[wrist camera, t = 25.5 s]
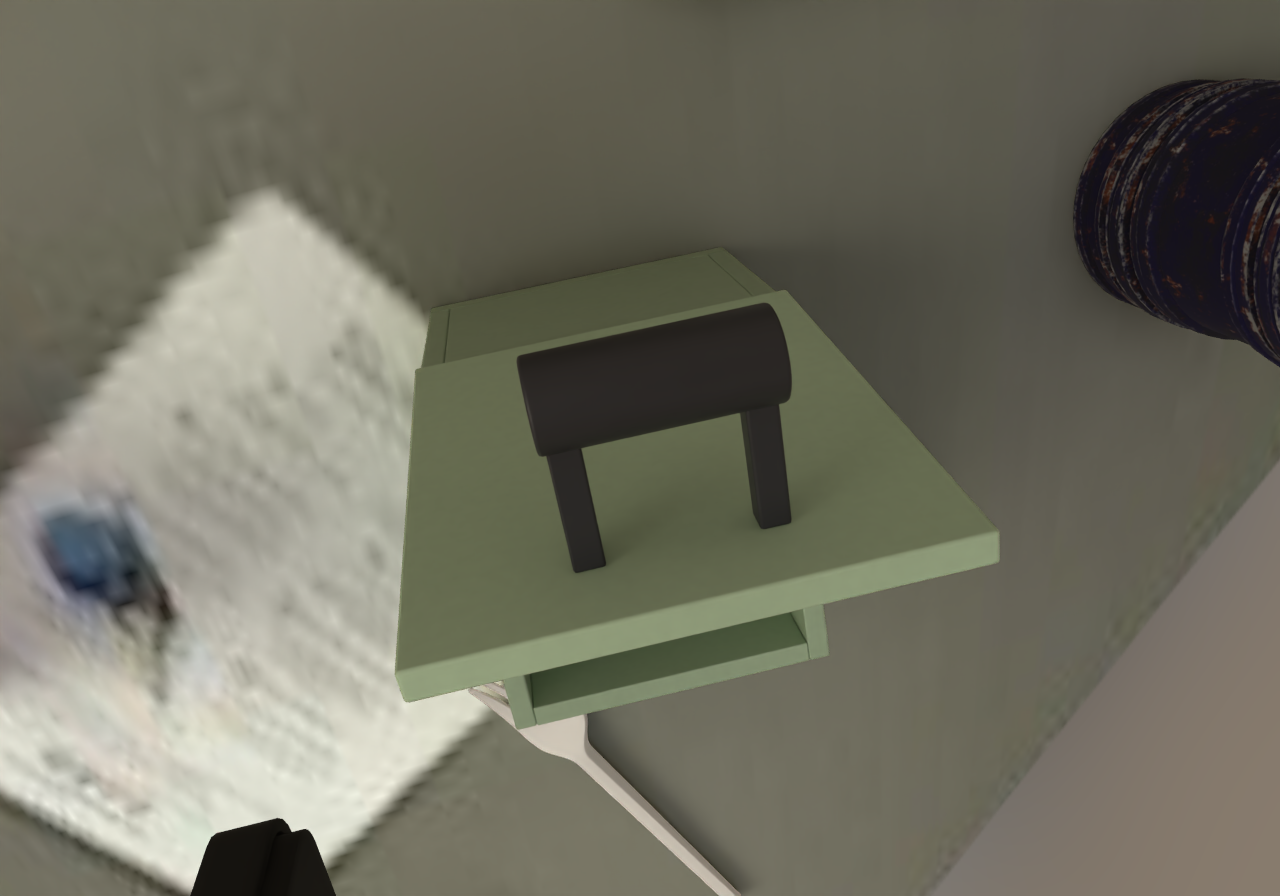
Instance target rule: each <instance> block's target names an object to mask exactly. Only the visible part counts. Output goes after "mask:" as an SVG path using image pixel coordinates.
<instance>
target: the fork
mask: <svg viewBox="0 0 1280 896" xmlns="http://www.w3.org/2000/svg"><path fill="white" fill-rule="evenodd" d="M483 686H485V687H487V688H489V689H491V690H493V691H495V692H496V693H498V694H500V695H502V696H503V697H505V698H506V699H508V697H507V694H506V690H505V687H504V686H501V685H499V684H496V683H494V682H493V683H489V684H485V685H483ZM468 691H469V693H470V694H472V695H473V696H475V697H476V698H478V699H479V700H480V701H482V702H483V703H484V704H486V705H487V706H488V707H490V708H491V709H492V710H494V711H495V712H496V713H498V714H499V715H500V716H501V717H503V718H504V719H505V720H506V721H507V722H508V723H509V724H511V725H512V726H513V727H514V728H515V729H516V727H515V723H514V719H513V716H512V712H511V708H510V705H509V704H507V703H505V702H503V701H502V700H500V699H498V698H496V697H494V696H492V695H490V694H487V693H484V692H482V691H479V690H476V689H473V688H470V689H469V690H468ZM587 729H588V719H587V714H584V715H579V716H575V717H571V718H567V719H563V720H559V721H554V722H550V723H546V724H542V725H538V724H537V725H535V726H532V727H528V728H524V729H520V730H517V729H516V730H517V731H518V732H519V733H521V734H522V735H523V736H524V737H525V738H526V739H527V740H529V741H530V742H531V743H532V744H533V745H535V746H536V747H538V748H539V749H541V750H543V751H545V752H547V753H550V754H553V755H557V756H561V757H564V758H567V759H569V760H572V761H574V762H575V763H576V764H578V765H579V766H580V767H581V768H582V769H583V770H584V771H585V772H586V773H587V774H589V775H590V776H591V777H592V778H593V779H594V780H595V781H596V782H597V783H598V784H599V785H600V786H601V787H603V788H604V789H605V790H606V791H607V792H608V793H609V794H610V795H611V796H612V797H613V798H614V799H615V800H617V801H618V802H619V803H620V804H621V805H622V806H623V807H624V808H625V809H626V810H627V811H628V812H629V813H631V814H632V815H633V816H634V817H635V818H636V819H637V820H638V821H639V822H640V823H641V824H642V825H644V826H645V827H646V828H647V829H648V830H649V831H650V832H651V833H652V834H653V835H654V836H655V837H656V838H658V839H659V840H660V841H661V842H662V843H663V844H664V845H665V846H666V847H667V848H668V849H669V850H670V851H672V852H673V853H674V854H675V855H676V856H677V857H678V858H679V859H680V860H681V861H682V862H683V863H684V864H686V865H687V866H688V867H689V868H690V869H691V870H692V871H693V872H694V873H695V874H696V875H697V876H698V877H700V878H701V879H702V880H703V881H704V882H705V883H706V884H707V885H708V886H709V887H710V888H711V889H713V890H714V891H715V892H716V893H717V894H718V895H719V896H741V894H740V893H739V892H738V891H737V890H736V889H735V888H734V887H733V886H732V885H731V884H730V883H729V882H728V881H727V880H726V879H725V878H724V877H723V876H722V875H721V874H720V873H719V872H718V871H717V870H716V869H715V868H714V867H713V866H712V865H711V864H710V863H709V862H708V861H707V860H706V859H705V858H704V857H703V856H702V855H701V854H700V853H699V852H698V851H697V850H696V849H695V848H694V847H693V846H692V845H691V844H690V843H689V842H688V841H687V840H686V839H685V838H683V837H682V836H681V835H680V834H679V833H678V832H677V831H676V830H675V829H674V828H673V827H672V826H671V825H670V824H669V823H668V822H667V821H666V820H665V819H664V818H663V817H662V816H661V815H660V814H659V813H658V812H657V811H656V810H655V809H654V808H653V807H652V806H651V805H650V804H649V803H648V802H647V801H646V800H645V799H644V798H643V797H642V796H641V795H640V794H639V793H638V792H637V791H636V790H635V789H634V788H633V787H632V786H631V785H630V784H629V783H628V782H627V781H626V780H625V779H624V778H623V777H622V776H621V775H620V774H619V773H618V772H617V771H616V770H615V769H614V768H613V767H612V766H611V765H610V764H609V763H608V762H607V761H606V760H605V759H604V758H603V757H602V756H601V755H600V754H599V753H598V752H597V751H596V750H595V749H594V748H593V747H592V746H591V745H590V743H589V741H588V734H587Z"/></svg>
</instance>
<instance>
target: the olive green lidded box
mask: <svg viewBox="0 0 1280 896" xmlns="http://www.w3.org/2000/svg"><path fill="white" fill-rule="evenodd" d="M772 292H776V291H775V290H773V289H772V288H771V287H770V286H769V285H767V284H766V283H765V282H764V281H763V280H761V279H760V278H759V277H758V276H757V275H755V274H754V273H753V272H752V271H750V270H749V269H748V268H747V267H746V266H744V265H743V264H742V263H741V262H740V261H738V260H737V259H736V258H735V257H733V256H732V255H731V254H730V253H729V252H727V251H726V250H725V249H724V248H722V247H719V248H714V249H710V250H705V251H700V252H695V253H691V254H686V255H681V256H677V257H672V258H667V259H662V260H658V261H653V262H648V263H643V264H639V265H634V266H629V267H625V268H620V269H615V270H610V271H606V272H601V273H596V274H591V275H587V276H582V277H577V278H573V279H568V280H563V281H558V282H554V283H549V284H544V285H539V286H535V287H530V288H525V289H521V290H516V291H511V292H506V293H502V294H497V295H492V296H488V297H483V298H478V299H473V300H469V301H464V302H459V303H454V304H450V305H445V306H440V307H436V308H432V309H431V315H430V320H429V326H428V332H427V338H426V343H425V349H424V355H423V360H422V366H421V368H424V367H429V366H433V365H438V364H442V363H447V362H452V361H456V360H461V359H466V358H470V357H475V356H480V355H484V354H489V353H494V352H498V351H503V350H507V349H512V348H517V347H521V346H526V345H531V344H535V343H540V342H545V341H549V340H554V339H559V338H563V337H568V336H573V335H577V334H582V333H586V332H591V331H596V330H600V329H605V328H610V327H614V326H619V325H624V324H628V323H633V322H638V321H642V320H647V319H651V318H656V317H661V316H665V315H670V314H675V313H679V312H684V311H689V310H693V309H698V308H703V307H707V306H712V305H716V304H721V303H726V302H730V301H735V300H740V299H744V298H749V297H754V296H758V295H763V294H768V293H772ZM829 655H830V652H829V644H828V637H827V629H826V621H825V614H824V606H823V604H822V605H818V606H814V607H810V608H805V609H801V610H797V611H793V612H789V613H784V614H780V615H776V616H772V617H767V618H763V619H759V620H755V621H751V622H746V623H742V624H738V625H734V626H729V627H725V628H721V629H717V630H713V631H708V632H704V633H700V634H696V635H691V636H687V637H683V638H679V639H675V640H670V641H666V642H662V643H658V644H653V645H649V646H645V647H641V648H637V649H632V650H628V651H624V652H620V653H615V654H611V655H607V656H603V657H599V658H594V659H590V660H586V661H582V662H577V663H573V664H569V665H565V666H561V667H556V668H552V669H548V670H544V671H539V672H535V673H531V674H527V675H523V676H518V677H514V678H510V679H506V680H503V683H504V687H505V690H506V694H507V697H508V701H509V705H510V708H511V712H512V716H513V719H514V723H515V727H516V729H517V730H520V729H524V728H528V727H532V726H535V725H537V724H538V725H542V724H546V723H550V722H554V721H559V720H563V719H567V718H571V717H575V716H579V715H584V714H588V713H592V712H596V711H600V710H604V709H609V708H613V707H617V706H621V705H625V704H629V703H634V702H638V701H642V700H646V699H650V698H654V697H658V696H663V695H667V694H671V693H675V692H679V691H683V690H688V689H692V688H696V687H700V686H704V685H708V684H713V683H717V682H721V681H725V680H729V679H733V678H738V677H742V676H746V675H750V674H754V673H758V672H762V671H767V670H771V669H775V668H779V667H783V666H787V665H792V664H796V663H800V662H804V661H808V660H809V659H810V660H812V659H817V658H821V657H825V656H829Z"/></svg>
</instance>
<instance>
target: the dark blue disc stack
mask: <svg viewBox="0 0 1280 896" xmlns="http://www.w3.org/2000/svg"><path fill="white" fill-rule="evenodd" d="M1073 223H1074V233H1075V240H1076V244H1077V248H1078V251H1079V255H1080V257H1081V259H1082V261H1083V263H1084V266H1085V268H1086V269H1087V271H1088V272H1089V274H1090V275H1091V276H1092V278H1093V279H1094V281H1095V282H1096V283H1097V284H1098V285H1099V286H1101V287H1102V288H1103V289H1104V290H1105V291H1106V292H1108V293H1109V294H1111V295H1112V296H1114V297H1115V298H1117V299H1119V300H1121V301H1124V302H1126V303H1129V304H1131V305H1134V306H1136V307H1139V308H1141V309H1142V310H1144V311H1146V312H1147V313H1149V314H1150V315H1152V316H1154V317H1157V318H1159V319H1161V320H1164V321H1166V322H1169V323H1171V324H1174V325H1176V326H1179V327H1182V328H1187V329H1191V330H1193V331H1196V332H1198V333H1201V334H1205V335H1208V336H1211V337H1216V338H1221V339H1231V340H1239V341H1241V342H1244V343H1246V344H1249V345H1250V346H1251V347H1252V348H1253V349H1254V350H1256V351H1257V352H1259V353H1260V354H1262V355H1263V356H1264V357H1266V358H1267V359H1269V360H1270V361H1271V362H1273V363H1274V364H1276V365H1277V366H1279V367H1280V81H1279V80H1262V79H1234V80H1225V81H1214V80H1191V81H1182V82H1178V83H1175V84H1172V85H1168V86H1165V87H1162V88H1160V89H1158V90H1156V91H1154V92H1152V93H1150V94H1148V95H1146V96H1144V97H1143V98H1141V99H1140V100H1138V101H1137V102H1135V103H1134V104H1132V105H1131V106H1130V107H1129V108H1128V109H1126V110H1125V111H1124V112H1123V113H1122V114H1121V115H1120V116H1118V117H1117V118H1116V119H1115V121H1114V122H1113V123H1112V124H1111V125H1110V126H1109V127H1108V129H1107V130H1106V131H1105V132H1104V133H1103V135H1102V136H1101V138H1100V139H1099V141H1098V142H1097V144H1096V145H1095V147H1094V148H1093V150H1092V152H1091V154H1090V156H1089V158H1088V160H1087V162H1086V164H1085V166H1084V169H1083V171H1082V174H1081V177H1080V180H1079V183H1078V187H1077V192H1076V197H1075V202H1074V217H1073Z"/></svg>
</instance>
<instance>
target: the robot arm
mask: <svg viewBox="0 0 1280 896" xmlns="http://www.w3.org/2000/svg"><path fill="white" fill-rule="evenodd" d="M190 896H336V894H335V892H334V889H333V887H332V884H331V881H330V879H329V876H328V873H327V871H326V868H325V866H324V863H323V860H322V858H321V855H320V852H319V850H318V847H317V845H316V842H315V840H314V838H313V836H312V834H311V833H310V831H309V830H306V829H303V830H299V831H295V832H291V830H290V828H289V826H288V824H287V823H286V822H285V821H284V820H283V819H280V818H276V819H272V820H268V821H264V822H260V823H256V824H252V825H248V826H244V827H240V828H236V829H232V830H228V831H224V832H220V833H216V834H215V835H214V836H212V837H211V839H210V841H209V843H208V845H207V848H206V851H205V854H204V857H203V859H202V862H201V865H200V868H199V871H198V874H197V877H196V880H195V883H194V886H193V889H192V892H191V895H190Z"/></svg>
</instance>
